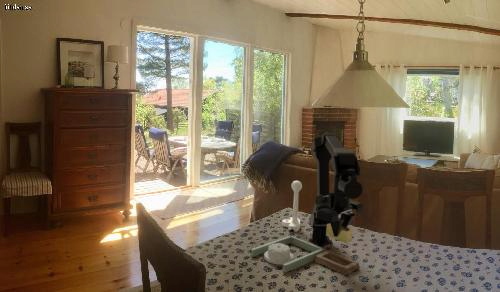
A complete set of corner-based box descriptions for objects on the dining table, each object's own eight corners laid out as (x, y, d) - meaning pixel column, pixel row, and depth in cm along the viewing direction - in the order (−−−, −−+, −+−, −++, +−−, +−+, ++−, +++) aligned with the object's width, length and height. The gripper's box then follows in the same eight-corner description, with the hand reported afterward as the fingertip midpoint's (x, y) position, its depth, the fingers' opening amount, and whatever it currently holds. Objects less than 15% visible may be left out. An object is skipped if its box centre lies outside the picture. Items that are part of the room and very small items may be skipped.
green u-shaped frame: (290, 241, 152) (290, 235, 152) (324, 255, 141) (324, 249, 140) (251, 255, 139) (251, 249, 138) (284, 272, 127) (285, 265, 127)
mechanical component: (261, 263, 134) (291, 267, 132) (262, 251, 133) (292, 254, 131) (266, 251, 143) (294, 254, 141) (267, 239, 143) (295, 243, 141)
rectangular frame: (327, 255, 141) (328, 250, 141) (358, 268, 132) (359, 262, 132) (315, 261, 136) (315, 255, 136) (346, 274, 127) (346, 269, 127)
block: (326, 235, 134) (326, 224, 134) (331, 233, 136) (332, 222, 136) (346, 243, 129) (347, 231, 128) (351, 241, 131) (352, 229, 130)
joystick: (299, 231, 163) (302, 184, 160) (281, 230, 164) (283, 183, 161) (300, 222, 174) (302, 178, 170) (282, 221, 175) (284, 176, 171)
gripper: (338, 180, 142) (335, 222, 144) (304, 188, 129) (301, 234, 132) (365, 187, 134) (362, 231, 136) (332, 197, 121) (329, 245, 124)
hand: (338, 235), depth 132 cm, fingers closed on block, 3 cm apart
